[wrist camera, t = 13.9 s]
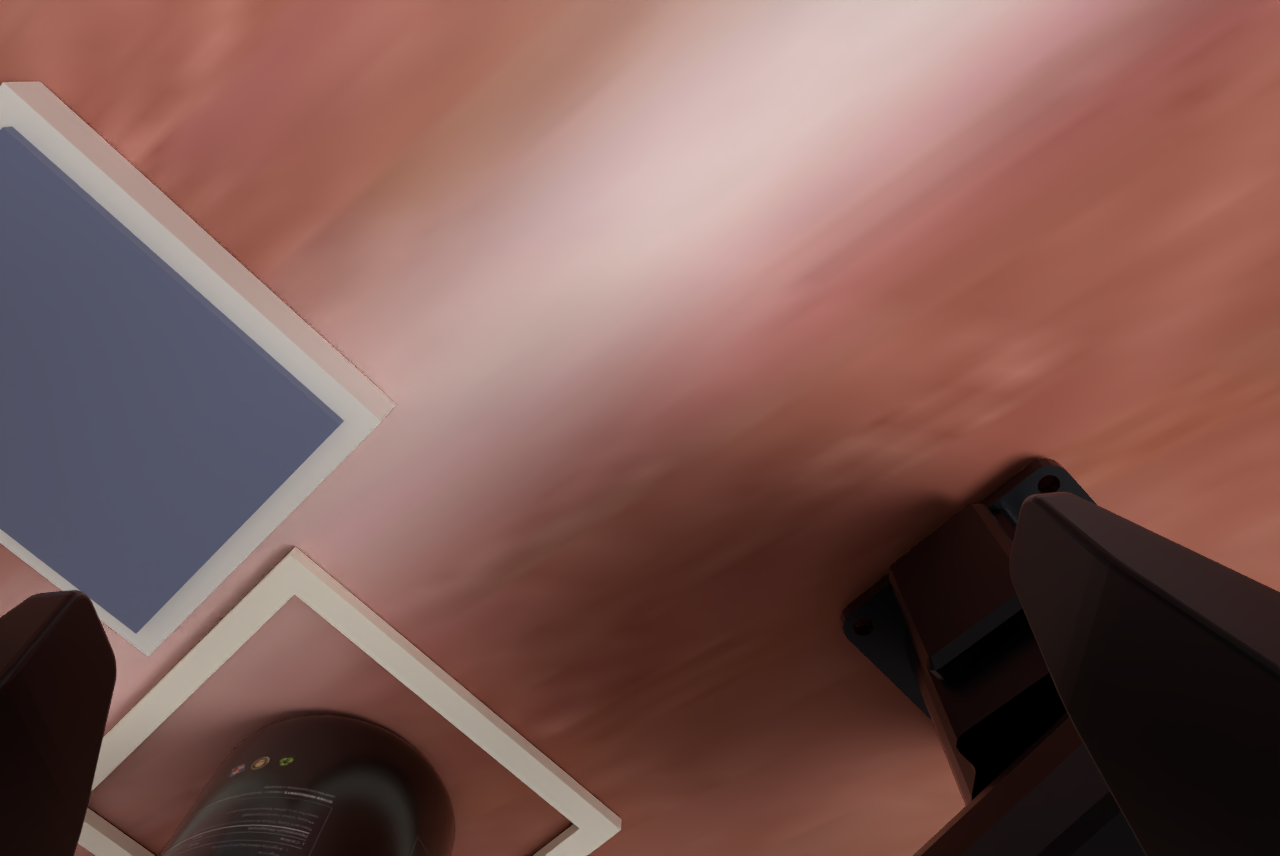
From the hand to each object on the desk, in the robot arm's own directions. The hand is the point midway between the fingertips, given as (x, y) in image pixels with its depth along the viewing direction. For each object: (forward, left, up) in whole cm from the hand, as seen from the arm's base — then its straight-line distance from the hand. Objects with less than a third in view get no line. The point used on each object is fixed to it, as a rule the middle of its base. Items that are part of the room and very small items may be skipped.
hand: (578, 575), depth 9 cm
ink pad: (+7, +10, -13) cm, 18 cm away
